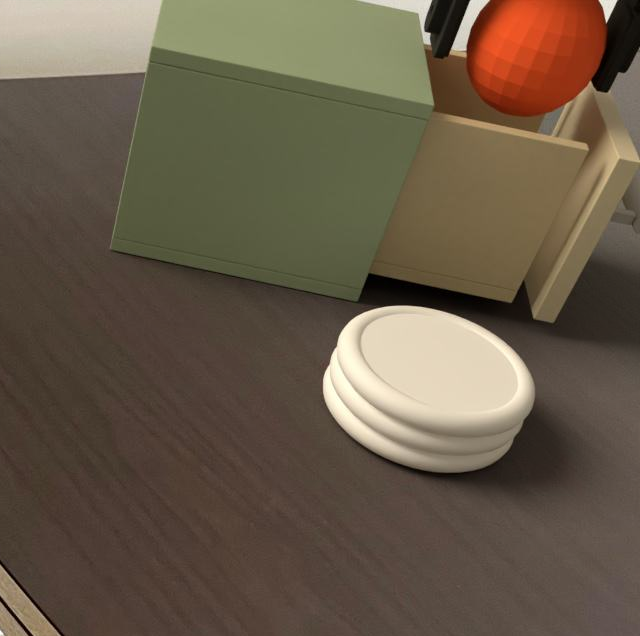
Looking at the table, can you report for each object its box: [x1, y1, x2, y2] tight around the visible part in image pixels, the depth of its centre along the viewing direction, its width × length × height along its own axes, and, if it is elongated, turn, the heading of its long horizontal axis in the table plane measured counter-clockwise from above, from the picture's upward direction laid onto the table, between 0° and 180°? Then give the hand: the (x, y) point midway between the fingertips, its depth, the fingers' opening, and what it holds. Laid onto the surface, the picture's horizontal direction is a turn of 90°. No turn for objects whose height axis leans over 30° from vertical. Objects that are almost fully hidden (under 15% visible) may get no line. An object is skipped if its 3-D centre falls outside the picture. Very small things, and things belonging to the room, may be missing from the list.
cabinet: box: [109, 0, 434, 303], centre depth 67 cm, size 15×13×12 cm
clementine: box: [465, 0, 607, 117], centre depth 62 cm, size 8×7×7 cm
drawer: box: [368, 43, 640, 324], centre depth 67 cm, size 17×11×10 cm, turn 81°
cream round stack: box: [322, 305, 536, 474], centre depth 59 cm, size 10×10×4 cm
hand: (517, 63), depth 62 cm, fingers closed on clementine, 8 cm apart
